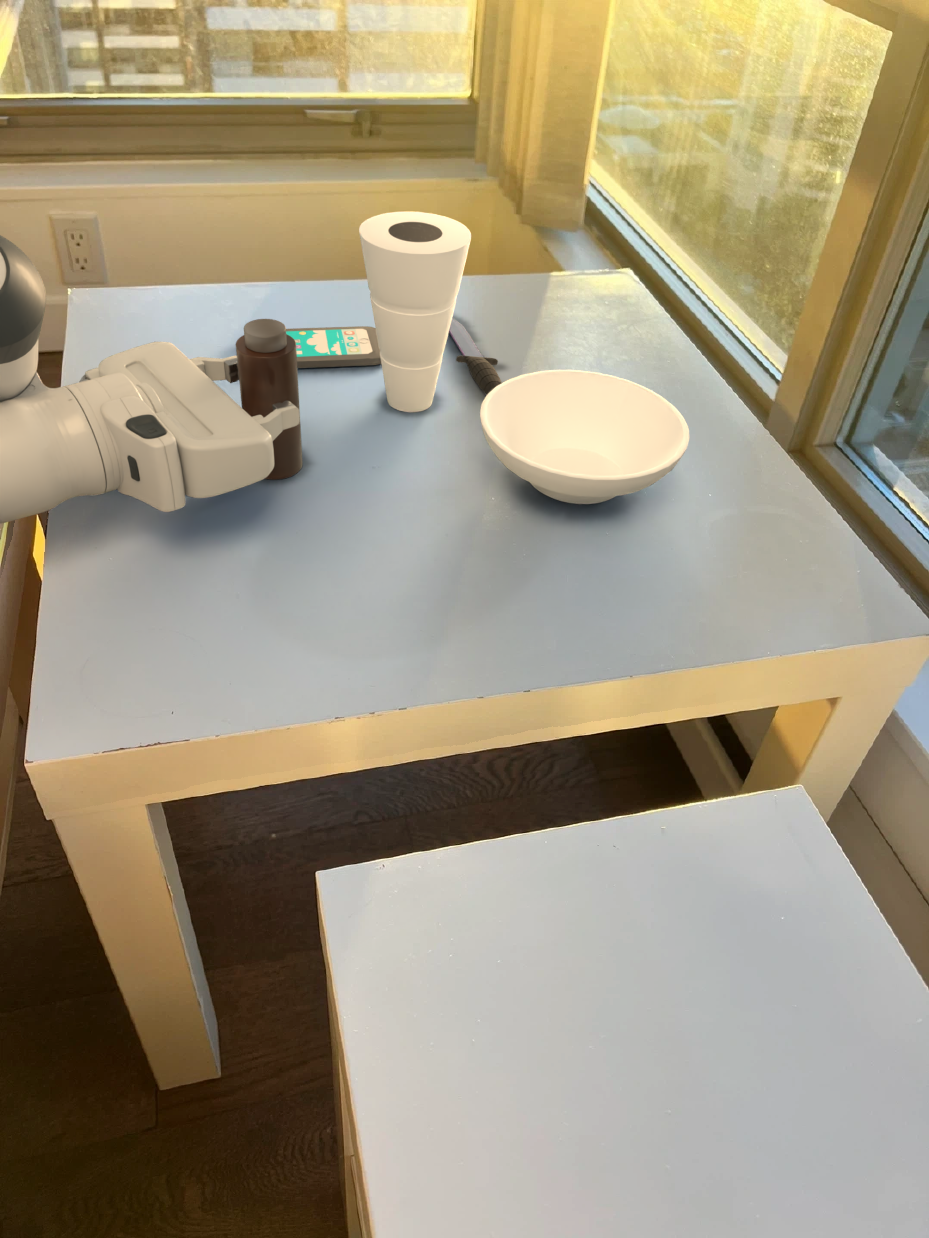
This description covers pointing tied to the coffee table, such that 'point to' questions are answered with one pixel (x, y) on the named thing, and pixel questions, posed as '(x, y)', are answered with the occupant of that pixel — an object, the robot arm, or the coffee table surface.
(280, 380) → the pepper mill
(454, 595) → the coffee table surface
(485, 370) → the knife
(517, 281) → the coffee table surface
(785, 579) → the coffee table surface
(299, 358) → the smartphone
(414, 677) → the coffee table surface
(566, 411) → the bowl
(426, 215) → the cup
